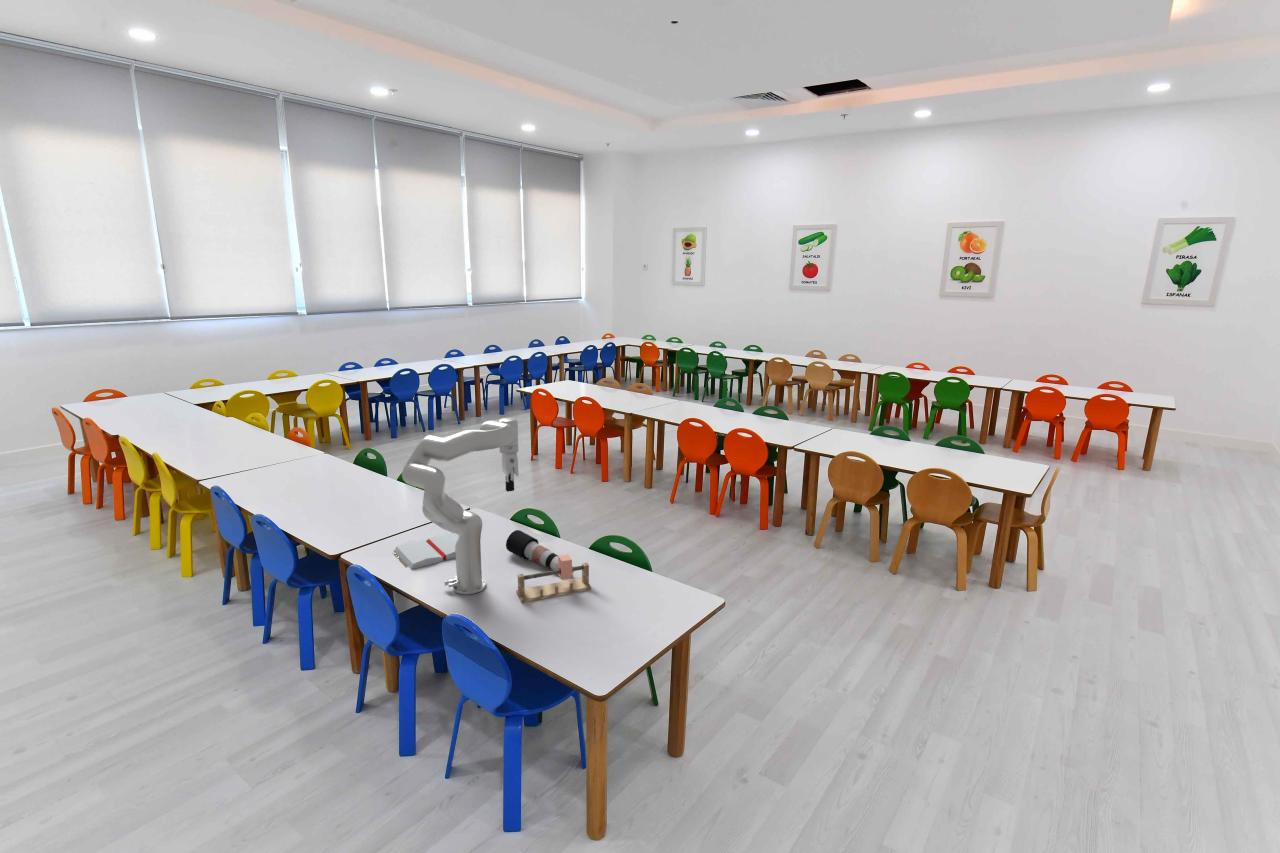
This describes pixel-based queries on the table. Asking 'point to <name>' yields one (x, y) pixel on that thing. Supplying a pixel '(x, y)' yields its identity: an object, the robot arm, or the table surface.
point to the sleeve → (565, 566)
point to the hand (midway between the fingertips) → (510, 490)
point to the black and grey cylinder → (531, 549)
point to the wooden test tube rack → (553, 585)
